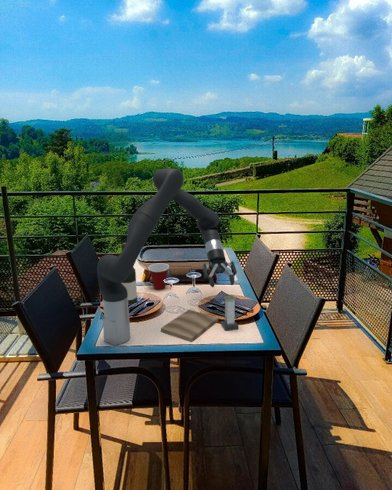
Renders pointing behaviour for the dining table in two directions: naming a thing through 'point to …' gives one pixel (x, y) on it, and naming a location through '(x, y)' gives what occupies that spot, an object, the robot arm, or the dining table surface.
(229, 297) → the square capped column
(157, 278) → the plastic cup
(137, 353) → the dining table surface
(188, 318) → the serving board
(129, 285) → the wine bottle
